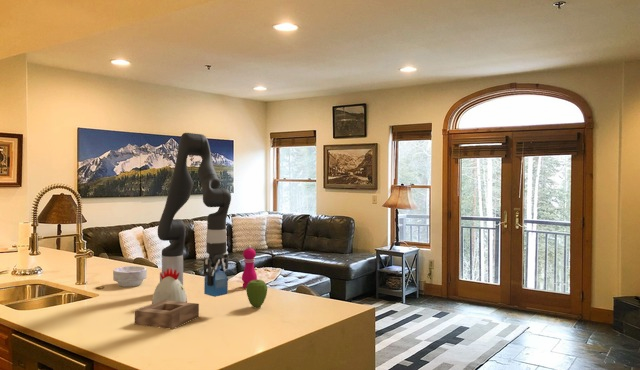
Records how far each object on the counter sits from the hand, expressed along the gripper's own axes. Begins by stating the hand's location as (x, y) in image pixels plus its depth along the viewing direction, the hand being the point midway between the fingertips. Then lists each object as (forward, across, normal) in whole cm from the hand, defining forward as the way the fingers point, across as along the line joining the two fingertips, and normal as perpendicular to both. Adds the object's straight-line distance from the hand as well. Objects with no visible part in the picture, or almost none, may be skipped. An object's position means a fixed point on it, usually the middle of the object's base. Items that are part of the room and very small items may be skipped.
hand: (216, 283), depth 192 cm
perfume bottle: (+4, 0, 0) cm, 4 cm away
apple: (+12, -14, +10) cm, 21 cm away
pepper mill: (+12, -46, -10) cm, 48 cm away
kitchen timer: (+13, -5, -24) cm, 28 cm away
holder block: (+12, +14, -12) cm, 22 cm away
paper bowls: (+13, -30, -66) cm, 73 cm away
